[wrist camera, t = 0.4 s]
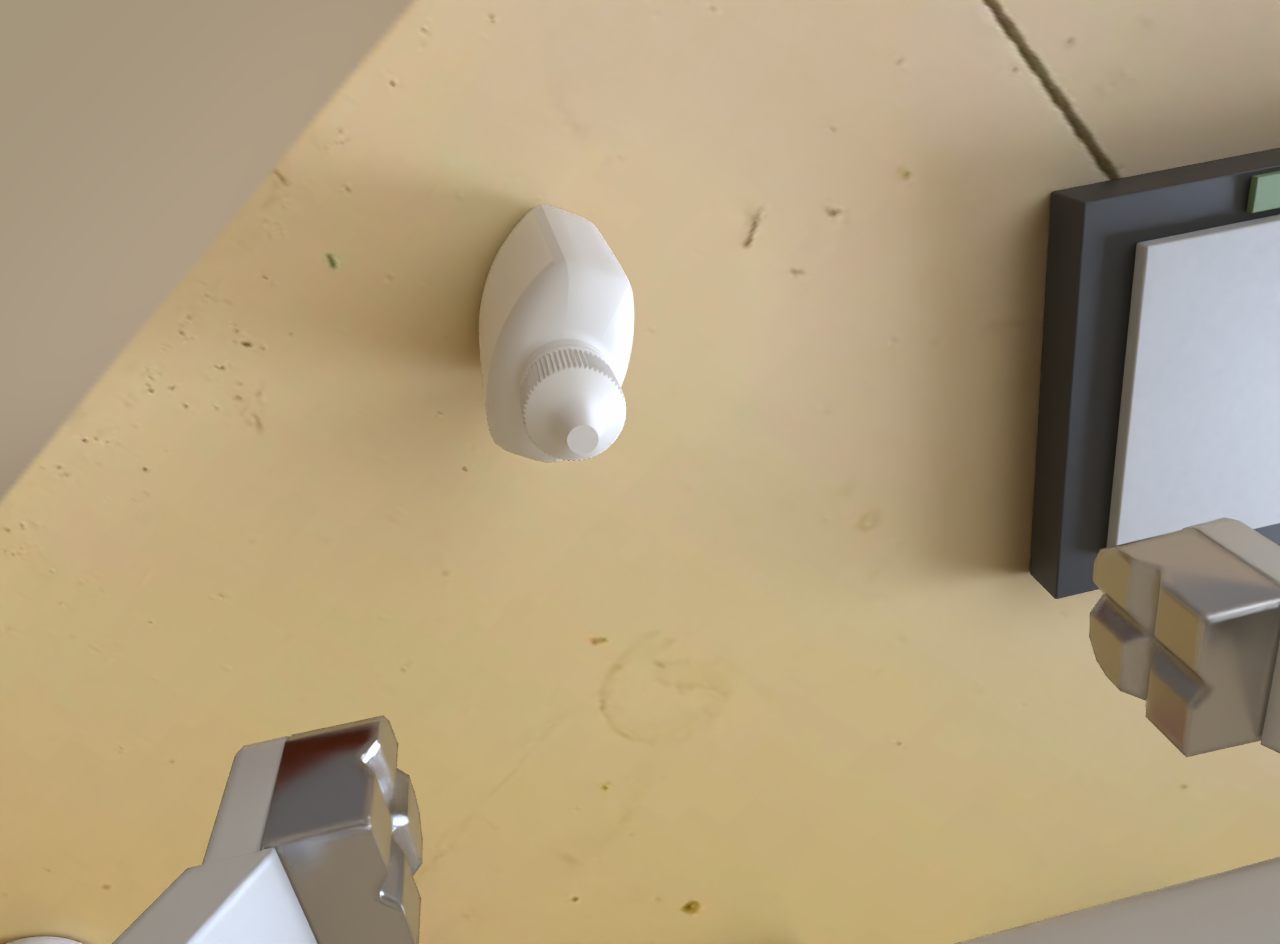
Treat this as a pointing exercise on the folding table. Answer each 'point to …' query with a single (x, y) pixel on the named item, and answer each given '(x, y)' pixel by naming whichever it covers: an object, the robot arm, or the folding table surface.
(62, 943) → the supplement bottle
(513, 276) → the eye dropper bottle
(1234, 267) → the scale
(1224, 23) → the folding table surface
